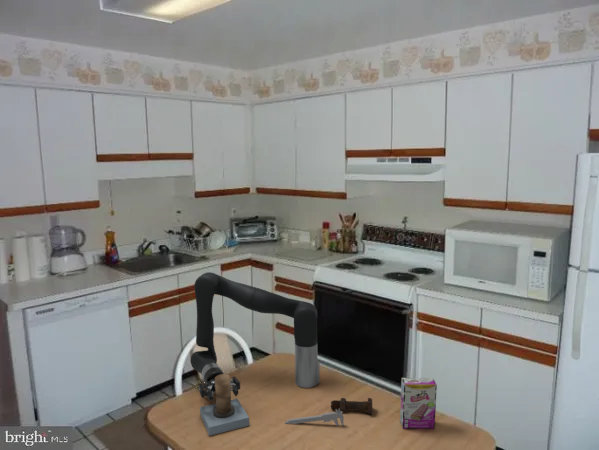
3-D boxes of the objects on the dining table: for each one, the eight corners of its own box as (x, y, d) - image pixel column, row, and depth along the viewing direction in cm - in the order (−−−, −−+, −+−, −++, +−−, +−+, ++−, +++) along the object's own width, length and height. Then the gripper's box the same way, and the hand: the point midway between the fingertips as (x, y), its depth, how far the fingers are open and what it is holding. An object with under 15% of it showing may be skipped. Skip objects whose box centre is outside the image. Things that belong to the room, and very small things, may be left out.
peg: (231, 412, 165) (230, 370, 163) (237, 422, 158) (236, 379, 156) (211, 417, 162) (209, 375, 160) (216, 428, 155) (214, 384, 153)
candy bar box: (402, 429, 153) (403, 384, 151) (399, 421, 158) (400, 377, 156) (435, 429, 153) (437, 384, 151) (431, 421, 158) (433, 377, 156)
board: (237, 405, 169) (237, 398, 169) (249, 425, 157) (249, 417, 156) (200, 414, 163) (199, 407, 163) (209, 435, 151) (208, 427, 150)
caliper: (343, 425, 156) (343, 408, 156) (343, 427, 155) (343, 410, 154) (285, 422, 158) (285, 406, 158) (284, 424, 157) (284, 407, 156)
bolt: (331, 412, 167) (372, 415, 165) (330, 413, 163) (372, 415, 160) (332, 396, 169) (372, 398, 167) (330, 395, 165) (371, 397, 162)
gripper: (194, 370, 168) (203, 390, 153) (231, 363, 174) (244, 381, 159) (195, 389, 169) (204, 411, 154) (231, 381, 175) (244, 401, 160)
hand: (224, 396), depth 157 cm, fingers open, 8 cm apart
